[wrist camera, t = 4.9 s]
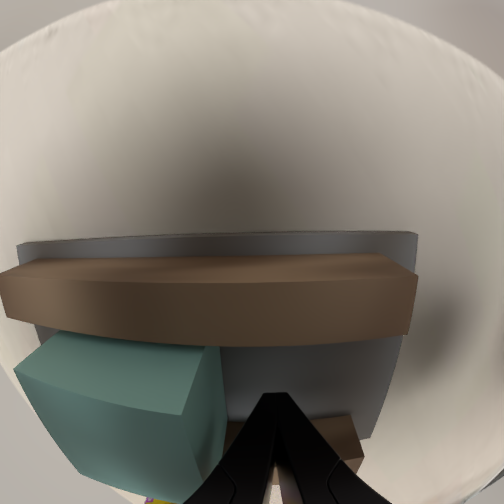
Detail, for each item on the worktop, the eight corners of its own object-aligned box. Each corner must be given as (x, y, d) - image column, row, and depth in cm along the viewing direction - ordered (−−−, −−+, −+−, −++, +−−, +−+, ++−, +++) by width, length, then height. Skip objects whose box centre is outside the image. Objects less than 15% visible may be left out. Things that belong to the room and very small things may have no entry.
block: (216, 314, 9) (180, 415, 4) (227, 418, 10) (214, 508, 5) (89, 307, 9) (13, 368, 4) (120, 404, 10) (80, 473, 5)
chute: (409, 231, 8) (463, 250, 5) (367, 429, 11) (383, 474, 8) (24, 242, 9) (-23, 258, 6) (78, 411, 11) (55, 444, 8)
